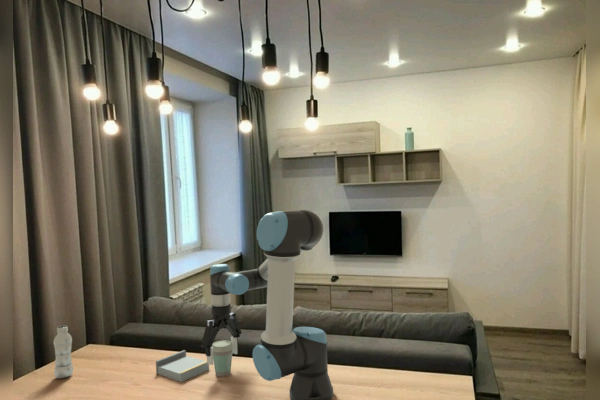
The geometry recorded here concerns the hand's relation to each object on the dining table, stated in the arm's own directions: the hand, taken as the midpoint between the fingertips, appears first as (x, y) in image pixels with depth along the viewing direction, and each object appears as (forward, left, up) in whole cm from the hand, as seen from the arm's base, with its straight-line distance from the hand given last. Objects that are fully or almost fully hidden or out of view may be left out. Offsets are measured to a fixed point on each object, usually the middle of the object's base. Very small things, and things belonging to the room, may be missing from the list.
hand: (222, 358), depth 175 cm
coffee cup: (0, 0, -6) cm, 6 cm away
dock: (+15, +7, -6) cm, 18 cm away
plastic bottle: (+52, +36, -6) cm, 64 cm away
